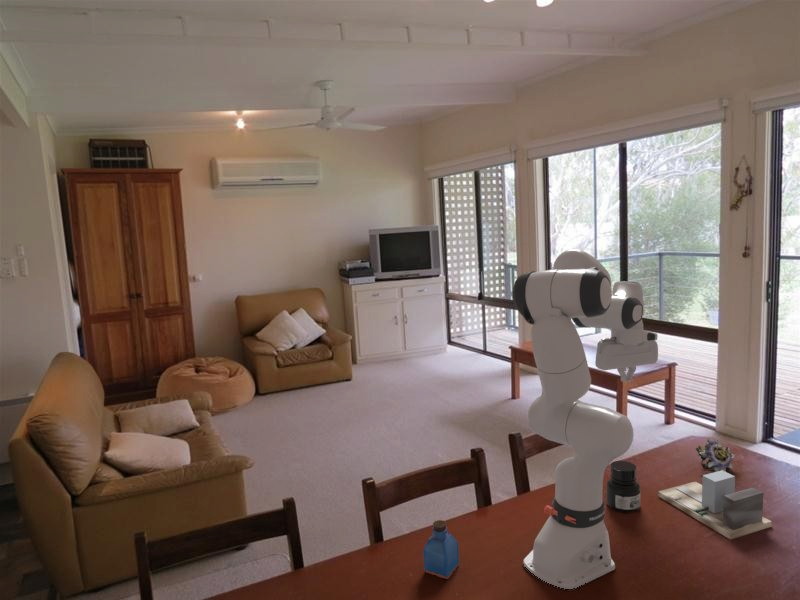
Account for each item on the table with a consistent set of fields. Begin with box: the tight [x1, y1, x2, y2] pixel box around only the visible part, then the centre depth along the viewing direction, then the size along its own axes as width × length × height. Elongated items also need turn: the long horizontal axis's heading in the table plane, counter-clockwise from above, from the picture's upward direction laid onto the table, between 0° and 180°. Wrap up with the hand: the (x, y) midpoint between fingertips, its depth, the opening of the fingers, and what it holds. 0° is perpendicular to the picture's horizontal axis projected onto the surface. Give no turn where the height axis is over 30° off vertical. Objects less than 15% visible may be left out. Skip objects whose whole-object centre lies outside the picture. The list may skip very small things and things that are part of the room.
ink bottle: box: [606, 460, 641, 513], centre depth 158 cm, size 10×9×12 cm
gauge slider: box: [696, 470, 736, 513], centre depth 149 cm, size 6×11×9 cm, turn 109°
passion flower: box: [695, 437, 736, 473], centre depth 177 cm, size 11×11×12 cm
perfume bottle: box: [422, 519, 460, 577], centre depth 134 cm, size 6×6×12 cm
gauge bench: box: [657, 481, 772, 540], centre depth 153 cm, size 24×14×10 cm, turn 19°
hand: (626, 381), depth 166 cm, fingers closed
